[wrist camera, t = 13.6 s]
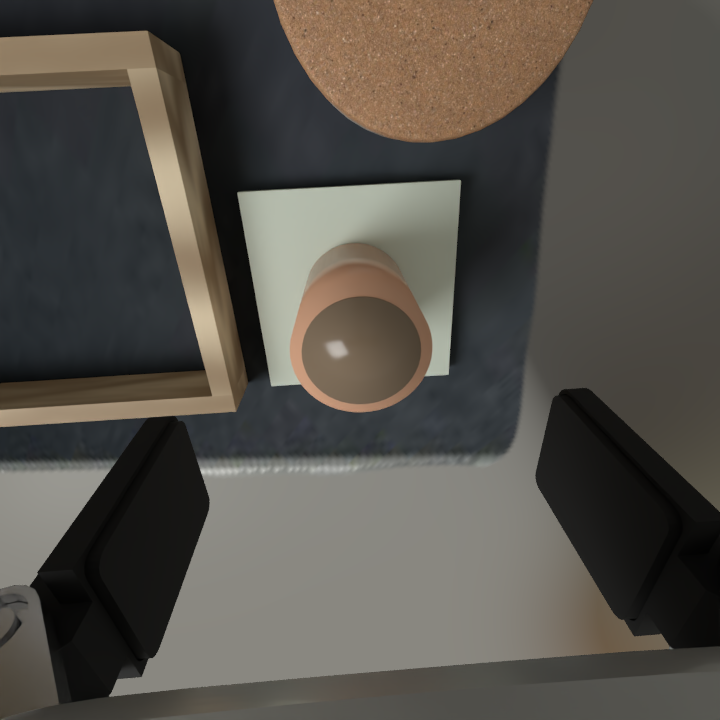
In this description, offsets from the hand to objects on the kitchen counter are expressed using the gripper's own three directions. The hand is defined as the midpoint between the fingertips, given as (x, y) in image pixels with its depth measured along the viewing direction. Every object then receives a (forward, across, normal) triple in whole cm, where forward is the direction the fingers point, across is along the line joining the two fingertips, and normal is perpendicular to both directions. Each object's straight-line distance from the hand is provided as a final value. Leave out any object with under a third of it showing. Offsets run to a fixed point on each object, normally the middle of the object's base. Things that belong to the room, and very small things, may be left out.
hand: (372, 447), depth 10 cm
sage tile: (+16, 0, +1) cm, 16 cm away
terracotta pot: (+15, 0, +1) cm, 15 cm away
